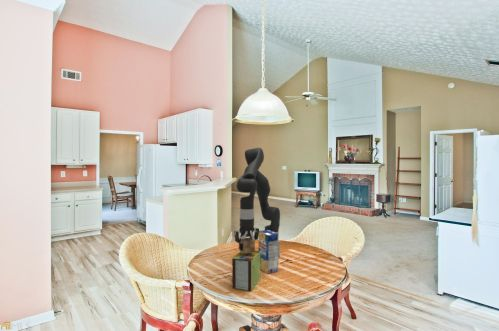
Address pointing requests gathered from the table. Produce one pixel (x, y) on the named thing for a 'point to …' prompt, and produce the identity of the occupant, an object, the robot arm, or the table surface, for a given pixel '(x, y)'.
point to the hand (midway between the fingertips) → (246, 249)
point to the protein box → (245, 270)
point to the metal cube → (248, 245)
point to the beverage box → (268, 251)
